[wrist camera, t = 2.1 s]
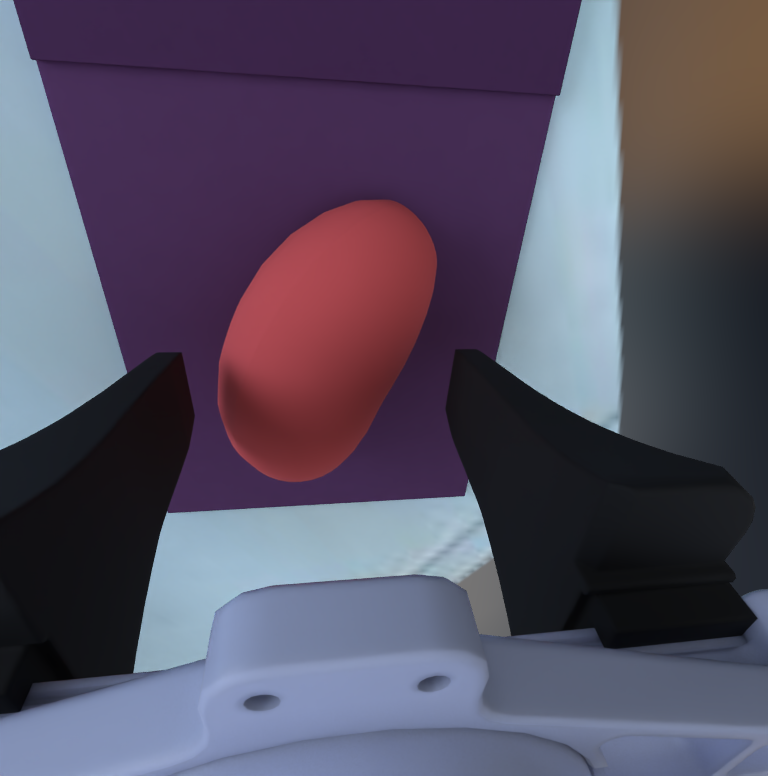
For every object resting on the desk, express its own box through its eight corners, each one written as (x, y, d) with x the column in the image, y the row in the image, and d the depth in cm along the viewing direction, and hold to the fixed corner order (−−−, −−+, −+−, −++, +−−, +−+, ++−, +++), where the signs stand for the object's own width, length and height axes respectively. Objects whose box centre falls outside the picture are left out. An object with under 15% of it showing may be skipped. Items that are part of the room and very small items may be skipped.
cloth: (463, 492, 22) (466, 500, 22) (169, 508, 20) (166, 518, 20) (600, -123, 11) (612, -130, 10) (-38, -211, 9) (-54, -225, 9)
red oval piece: (173, 329, 17) (175, 505, 14) (293, 121, 11) (335, 360, 8) (303, 353, 20) (324, 501, 17) (450, 203, 14) (517, 394, 11)
